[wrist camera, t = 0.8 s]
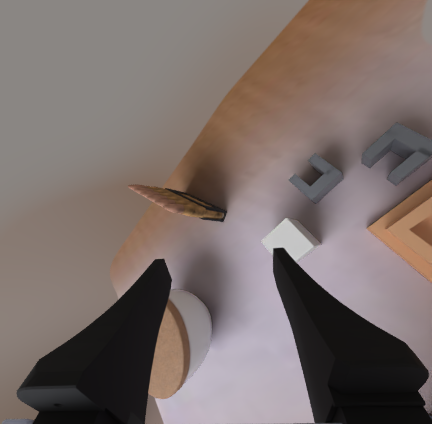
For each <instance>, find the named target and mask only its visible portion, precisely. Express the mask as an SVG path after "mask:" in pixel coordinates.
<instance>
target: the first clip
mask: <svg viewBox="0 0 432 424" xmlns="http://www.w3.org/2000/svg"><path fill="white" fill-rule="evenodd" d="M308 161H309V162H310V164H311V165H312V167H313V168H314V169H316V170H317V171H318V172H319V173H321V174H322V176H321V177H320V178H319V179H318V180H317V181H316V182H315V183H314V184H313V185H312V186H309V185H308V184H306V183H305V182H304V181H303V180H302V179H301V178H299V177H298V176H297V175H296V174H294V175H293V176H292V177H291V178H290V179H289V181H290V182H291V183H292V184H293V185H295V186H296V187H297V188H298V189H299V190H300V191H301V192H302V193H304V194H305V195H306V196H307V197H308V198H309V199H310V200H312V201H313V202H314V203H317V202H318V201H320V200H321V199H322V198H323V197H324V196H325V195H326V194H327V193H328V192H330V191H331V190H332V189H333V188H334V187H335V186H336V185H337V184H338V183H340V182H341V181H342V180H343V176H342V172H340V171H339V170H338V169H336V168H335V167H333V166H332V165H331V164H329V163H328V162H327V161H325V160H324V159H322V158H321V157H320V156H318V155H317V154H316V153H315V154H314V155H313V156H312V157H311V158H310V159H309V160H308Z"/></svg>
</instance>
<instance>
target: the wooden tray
mask: <svg viewBox="0 0 432 424" xmlns="http://www.w3.org/2000/svg"><path fill="white" fill-rule="evenodd" d="M367 230H369V231H370V232H371V233H372V234H373V235H375V236H376V237H377V238H378V239H379V240H381V241H382V242H383V243H384V244H385V245H387V246H388V247H389V248H390V249H391V250H393V251H394V252H395V253H396V254H397V255H399V256H400V257H401V258H402V259H403V260H405V261H406V262H407V263H408V264H409V265H411V266H412V267H413V268H414V269H415V270H417V271H418V272H419V273H420V274H421V275H423V276H424V277H425V278H426V279H427V280H429V281H430V282H431V283H432V180H431V181H430V182H428V183H427V184H426V185H424V186H423V187H421V188H420V189H419V190H417V191H416V192H415V193H413V194H412V195H411V196H409V197H408V198H407V199H405V200H404V201H403V202H401V203H400V204H399V205H397V206H396V207H395V208H393V209H392V210H391V211H389V212H388V213H387V214H385V215H384V216H383V217H381V218H380V219H379V220H377V221H376V222H375V223H373V224H372V225H371V226H369V227H368V228H367Z"/></svg>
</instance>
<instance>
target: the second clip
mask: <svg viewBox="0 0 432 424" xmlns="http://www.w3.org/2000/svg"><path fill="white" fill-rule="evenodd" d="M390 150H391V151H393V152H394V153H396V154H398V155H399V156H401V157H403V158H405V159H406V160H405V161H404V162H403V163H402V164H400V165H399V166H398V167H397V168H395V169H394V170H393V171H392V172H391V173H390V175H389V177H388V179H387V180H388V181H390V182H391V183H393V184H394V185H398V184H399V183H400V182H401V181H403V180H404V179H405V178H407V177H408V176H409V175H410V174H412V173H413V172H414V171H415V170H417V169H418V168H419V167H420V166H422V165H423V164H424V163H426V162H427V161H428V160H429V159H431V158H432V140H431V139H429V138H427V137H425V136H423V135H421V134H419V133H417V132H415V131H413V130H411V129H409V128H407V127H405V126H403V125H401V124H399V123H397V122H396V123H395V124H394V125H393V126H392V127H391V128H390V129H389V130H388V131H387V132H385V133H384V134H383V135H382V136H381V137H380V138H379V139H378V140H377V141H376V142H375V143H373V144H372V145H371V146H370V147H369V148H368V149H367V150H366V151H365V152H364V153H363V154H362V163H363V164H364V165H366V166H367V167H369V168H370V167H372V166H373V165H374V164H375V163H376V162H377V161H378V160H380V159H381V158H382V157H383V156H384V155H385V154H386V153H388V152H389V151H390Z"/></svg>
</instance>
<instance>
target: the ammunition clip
mask: <svg viewBox="0 0 432 424" xmlns="http://www.w3.org/2000/svg"><path fill="white" fill-rule="evenodd" d="M128 187H129V188H130V189H132V190H134V191H135V192H137V193H139V194H141V195H142V196H144V197H146V198H148V199H149V200H151V201H153V202H155V203H156V204H157V205H159V206H162V207H163V208H164V209H166V210H168V211H170V212H174V213H179V214H184V215H187V216H191V217H199V218H201V219H203V220H211V221H220V222H223V221H224V219H225V216H226V213H227V211H225V210H223V209H220V208H218V207H216V206H214V205H212V204H209V203H207V202H205V201H203V200H201V199H198V198H196V197H194V196H192V195H189V194H187V193H184V192H180V191H176V190H172V189H167V188H165V189H163V188H158V187H150V186H143V185H128Z"/></svg>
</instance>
